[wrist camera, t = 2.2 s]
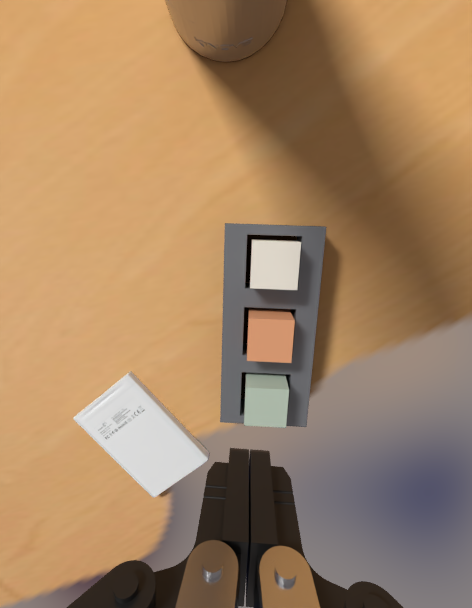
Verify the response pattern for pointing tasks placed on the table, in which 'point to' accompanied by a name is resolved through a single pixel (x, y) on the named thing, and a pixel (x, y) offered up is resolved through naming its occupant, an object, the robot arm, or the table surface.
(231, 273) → the keypad
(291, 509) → the robot arm
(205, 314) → the table surface
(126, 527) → the table surface
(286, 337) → the terracotta button
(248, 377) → the sage button
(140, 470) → the external hard drive
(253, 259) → the cream button
